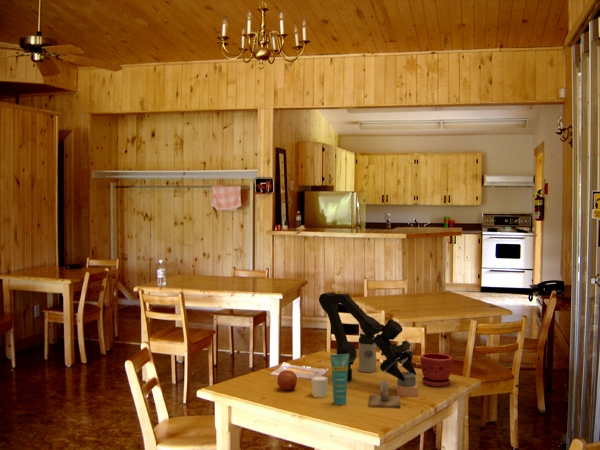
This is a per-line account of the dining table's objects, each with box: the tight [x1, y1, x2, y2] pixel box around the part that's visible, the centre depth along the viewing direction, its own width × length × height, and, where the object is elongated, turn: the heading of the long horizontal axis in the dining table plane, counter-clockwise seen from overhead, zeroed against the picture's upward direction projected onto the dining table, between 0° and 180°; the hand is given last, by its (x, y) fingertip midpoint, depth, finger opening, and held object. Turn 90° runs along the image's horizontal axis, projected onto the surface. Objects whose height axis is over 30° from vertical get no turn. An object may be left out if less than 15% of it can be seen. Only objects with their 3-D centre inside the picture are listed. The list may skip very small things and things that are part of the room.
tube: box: [329, 354, 349, 406], centre depth 232 cm, size 7×5×19 cm, turn 103°
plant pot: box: [420, 352, 453, 387], centre depth 257 cm, size 13×13×12 cm
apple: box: [277, 369, 298, 391], centre depth 251 cm, size 8×8×8 cm
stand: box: [396, 380, 418, 397], centre depth 245 cm, size 8×8×4 cm
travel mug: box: [358, 330, 377, 373], centre depth 278 cm, size 8×8×18 cm
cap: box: [397, 371, 417, 387], centre depth 244 cm, size 7×7×4 cm
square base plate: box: [368, 380, 401, 409], centre depth 233 cm, size 12×12×8 cm
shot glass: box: [310, 375, 329, 398], centre depth 243 cm, size 7×7×7 cm
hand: (409, 377), depth 244 cm, fingers open, 9 cm apart
